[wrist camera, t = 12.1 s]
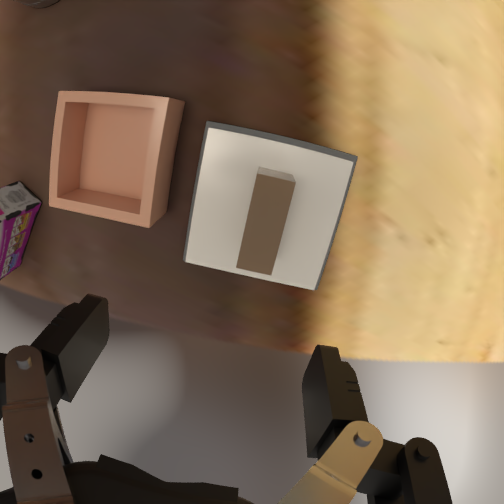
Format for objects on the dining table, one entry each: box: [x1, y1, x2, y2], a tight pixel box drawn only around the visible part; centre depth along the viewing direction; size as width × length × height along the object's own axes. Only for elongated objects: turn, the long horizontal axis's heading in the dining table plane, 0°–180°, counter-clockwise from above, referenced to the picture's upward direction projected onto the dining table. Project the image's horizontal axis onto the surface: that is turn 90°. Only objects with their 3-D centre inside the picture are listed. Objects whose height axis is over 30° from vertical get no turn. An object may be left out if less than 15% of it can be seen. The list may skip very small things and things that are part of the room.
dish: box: [49, 91, 185, 228], centre depth 27 cm, size 11×11×5 cm
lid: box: [185, 128, 353, 290], centre depth 28 cm, size 13×13×5 cm
